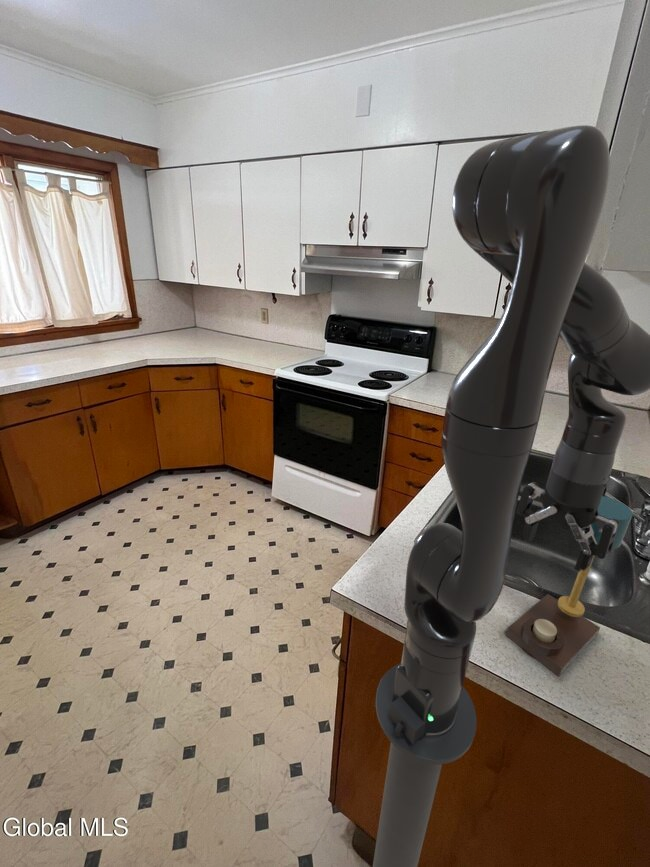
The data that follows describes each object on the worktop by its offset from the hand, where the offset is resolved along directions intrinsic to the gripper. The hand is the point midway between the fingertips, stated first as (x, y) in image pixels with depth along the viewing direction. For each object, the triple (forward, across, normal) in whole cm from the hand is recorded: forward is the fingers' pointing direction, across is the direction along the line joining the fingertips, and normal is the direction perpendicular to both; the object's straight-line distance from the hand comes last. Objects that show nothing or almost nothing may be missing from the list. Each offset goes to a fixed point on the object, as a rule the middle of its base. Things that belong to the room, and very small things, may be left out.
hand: (553, 553), depth 71 cm
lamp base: (+19, +3, +4) cm, 20 cm away
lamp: (+15, +3, +9) cm, 18 cm away
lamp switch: (+16, +3, -1) cm, 16 cm away
